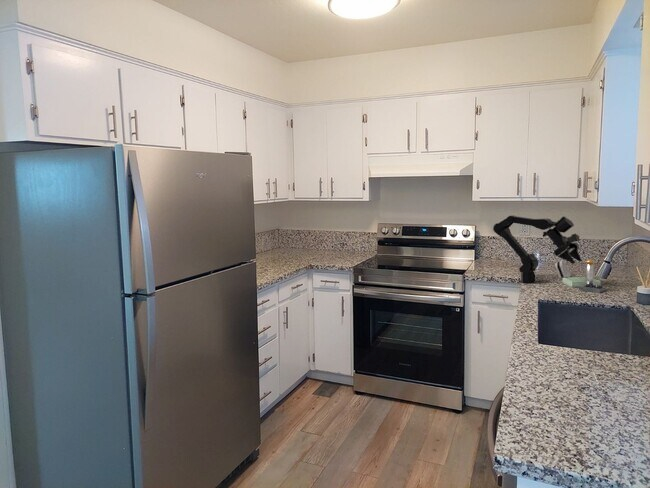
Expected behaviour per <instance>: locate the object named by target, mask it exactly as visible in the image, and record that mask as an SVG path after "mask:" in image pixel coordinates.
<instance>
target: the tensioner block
mask: <svg viewBox="0 0 650 488" xmlns="http://www.w3.org/2000/svg"><path fill="white" fill-rule="evenodd" d="M578 291H580V292H588V293H589V292H590V293H595V294H596V293H597V294H600V293H604V292H606V291H607V288H606V286H603V285H602V284H601V285H593V287H586V285H582V286H579V287H578Z"/></svg>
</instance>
